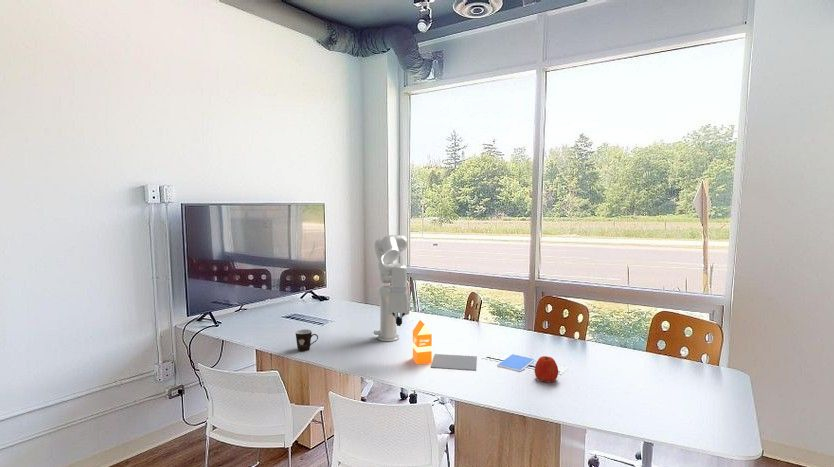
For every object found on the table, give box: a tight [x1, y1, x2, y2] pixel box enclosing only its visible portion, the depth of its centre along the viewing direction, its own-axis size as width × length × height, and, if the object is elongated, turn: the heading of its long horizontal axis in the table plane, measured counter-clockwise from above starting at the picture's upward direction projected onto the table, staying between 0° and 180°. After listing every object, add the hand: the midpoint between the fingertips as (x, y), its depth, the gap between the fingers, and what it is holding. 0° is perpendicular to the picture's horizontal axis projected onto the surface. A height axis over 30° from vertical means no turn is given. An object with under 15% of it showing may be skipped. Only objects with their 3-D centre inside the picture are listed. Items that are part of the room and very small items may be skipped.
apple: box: [534, 355, 559, 383], centre depth 185 cm, size 10×10×10 cm
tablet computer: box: [496, 354, 535, 373], centre depth 205 cm, size 19×13×1 cm, turn 144°
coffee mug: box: [295, 328, 319, 353], centre depth 223 cm, size 12×9×10 cm
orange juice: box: [412, 319, 433, 365], centre depth 208 cm, size 8×9×20 cm
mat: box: [430, 353, 478, 372], centre depth 205 cm, size 22×18×1 cm
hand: (399, 325), depth 209 cm, fingers closed
